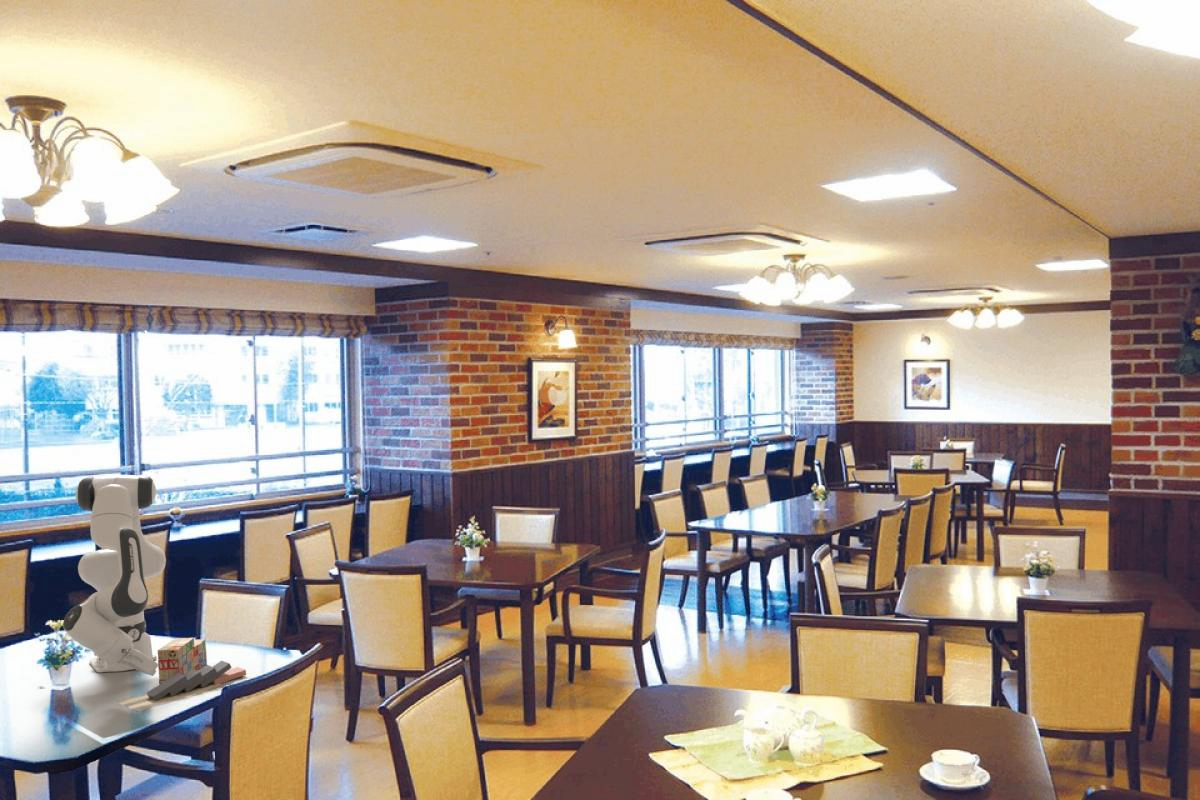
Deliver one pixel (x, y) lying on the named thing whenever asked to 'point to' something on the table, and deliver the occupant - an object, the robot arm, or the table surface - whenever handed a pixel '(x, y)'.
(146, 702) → the domino board
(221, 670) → the domino
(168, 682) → the domino
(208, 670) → the domino
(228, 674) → the domino
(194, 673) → the domino
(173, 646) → the stack of blocks
